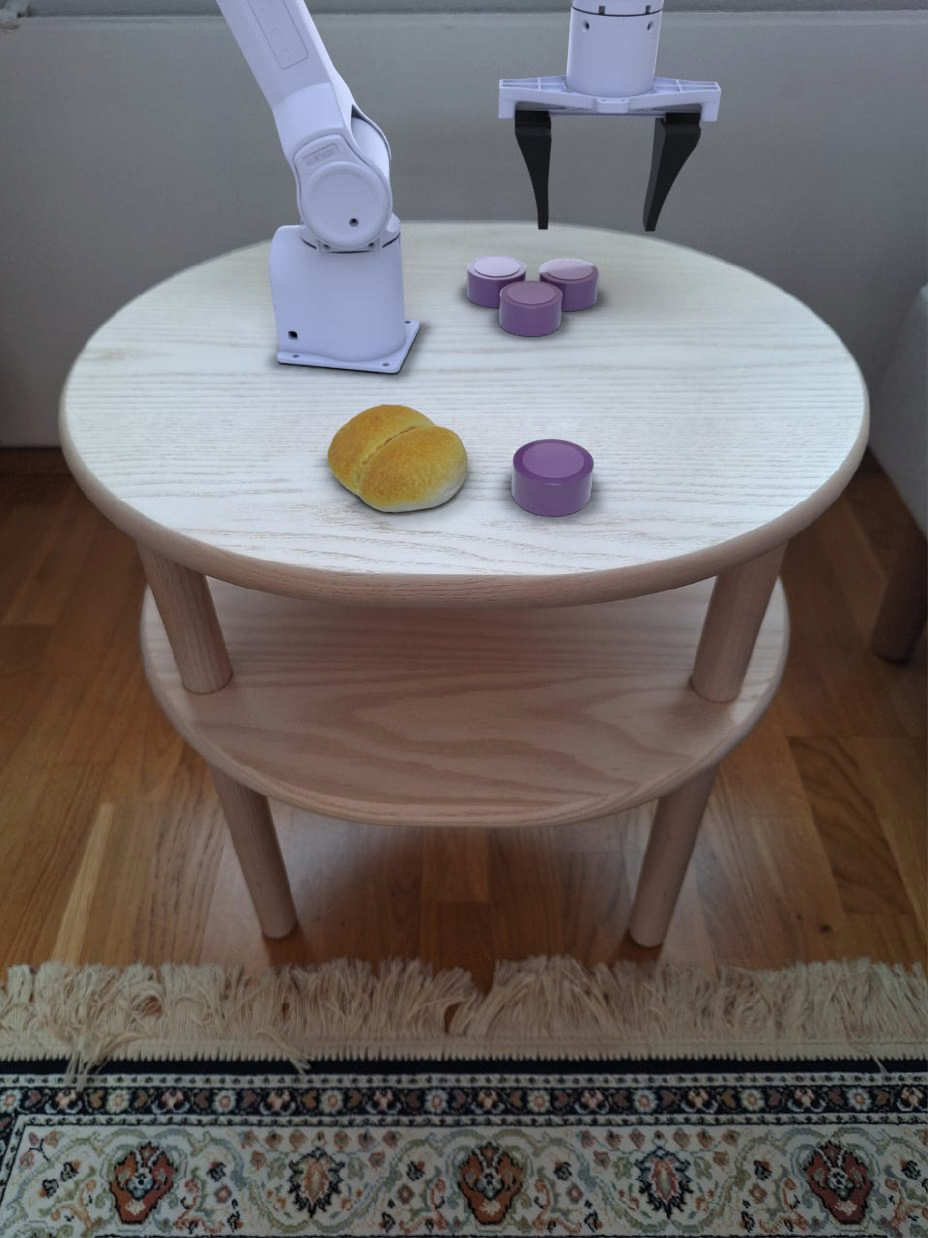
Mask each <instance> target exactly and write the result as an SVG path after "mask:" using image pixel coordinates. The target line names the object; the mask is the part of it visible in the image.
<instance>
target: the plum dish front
mask: <svg viewBox="0 0 928 1238" xmlns="http://www.w3.org/2000/svg"><path fill="white" fill-rule="evenodd" d="M511 465H512V468H511V469H512V470H511V492H510V493H511V496H512V498H513V500H514V502H515V503H516V504H517V505H518V506H519V507H520V508H521V509H523V510H525V511H527V512H529V513H532V514H535V515H539V516H544V517H563V516H568V515H571V514H575V513H577V512H579V511H580V510H582V509H583V508H585V507H586V506H587V505H588V503H589V501H590V500H591V495H592V494H591V493H592V485H593V478H594V477H593V476H594V469H595V468H594V467H595V462H594V457H593V456H592V455H591V453H590V452H589V451H588V450H587V449H586V448H584V447H583V446H581V445H579V443H578V444H577V443H575V442H572V441H568V440H565V439H559V438H544V439H543V438H542V439H536V440H532V441H530V442H527V443H525V444H523V445H521V447H519V448H518V449H517V450H516V451H515V452H514V454H513V456H512V464H511Z"/></svg>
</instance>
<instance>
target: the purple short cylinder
mask: <svg viewBox="0 0 928 1238" xmlns="http://www.w3.org/2000/svg"><path fill="white" fill-rule="evenodd" d="M527 272H528V267H527V265H526V263H525V262H523V261H522V260H520V259H518V258H516V257H512V256H508V255H495V254H494V255H486V256H481V257H477V258H474V259H472V260H470V262H468V264H467V266H466V297H467V298H468V300H469V301H470V302H471V303H473V304H475V305H478V306H481V307H486V308H494V309H497V308H498V309H499V304H500V292H501V290H502V289H503V288H504V287H505V286H507V285H509V284H512V283H515V282H521V281H527V275H528V273H527Z"/></svg>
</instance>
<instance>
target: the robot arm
mask: <svg viewBox="0 0 928 1238" xmlns="http://www.w3.org/2000/svg"><path fill="white" fill-rule="evenodd" d="M664 1H665V0H571V6H570V21H569V23H570V24H569V32H568V33H569V35H568V49H567V50H568V51H567V62H566V63H567V64H566V74H563V75H552V76H541V77H540V76H539V77H531V78H530V77H529V78H513V79H510V78H508V79H507V78H505V79H504V78H503V79H502V78H501V79H499V81H498V82H499V83H498V84H499V85H498V119H499V120H514V135H515V139H516V142H517V144H518V147H519V149H520V152H521V155H522V157H523V160H524V163H525V166H526V168H527V171H528V174H529V178H530V183H531V186H532V190H533V194H534V200H535V204H536V212H537V229H538V231H548V230H549V219H550V208H549V206H550V205H549V181H550V180H549V179H550V167H551V165H550V164H551V153H552V152H551V151H552V140H553V137H552V136H553V135H552V117H553V118H554V117H555V118H557V117H559V118H560V117H562V118H563V117H565V118H576V117H577V118H627V119H628V118H631V119H632V118H637V119H644V118H645V119H654V129H653V141H652V153H651V164H650V171H649V176H648V183H647V187H646V192H645V198H644V202H643V203H644V204H643V210H642V211H643V212H642V213H643V214H642V225H643V228H644V232H647V233H648V232H650V233H651V232H653V233H654V232H655V231H656V229H657V225H658V221H659V219H660V218H659V217H660V215H661V212H662V210H663V207H664V204H665V202H666V200H667V197H668V196H669V192H670V191H671V188H672V187H673V185H674V183H675V181H676V179H677V178H678V175H679V173H680V172H681V171H682V168H683V167H684V165H685V164H686V162H687V161H688V159H689V157H690V156H691V155H692V153H693V152H694V151H695V149H696V148H697V145H698V143H699V141H700V138H701V135H702V127H701V126H700V122H703V123H704V122H706V123H715V122H717V120H718V115H719V110H720V103H721V98H722V89H721V86H720V85H719V83H718V81H699V80H689V79H688V80H687V79H677V78H668V77H658V76H655V72H656V64H657V56H658V55H657V54H658V49H659V48H658V47H659V39H660V31H661V22H662V14H663V9H664ZM215 2H216V4H217V6H218V8H219V10H220V12H221V15H223V17H224V20H225V21H226V23H227V25H228V28H229V29H230V31H231V34H232V36H233V37H234V39H235V41H236V43H237V45H238V47H239V49H240V51H241V53H242V55H243V58H245V61H246V63H247V65H248V66H249V68H250V71H251V72H252V75H253V77H254V78H255V80H256V82H257V84H258V86H259V88H260V90H261V92H262V94H263V97H264V98H265V99H266V102H267V104H268V106H269V107H270V109H271V113H272V115H273V119H274V122H275V127H276V131H277V134H278V138H279V141H280V145H281V149H282V152H283V155H284V157H285V159H286V161H287V164H288V166H289V167H290V169H291V172H292V173H293V177H294V180H295V187H296V207H297V211H298V213H299V216H300V220H299V224H294V225H293V224H292V225H289V224H288V225H281V226H280V227H278V228H277V230H276V231H275V232H274V235H273V238H272V240H271V243H270V247H269V248H270V249H269V256H268V277H269V278H268V279H269V286H270V292H271V293H270V294H271V300H272V307H273V313H274V320H275V327H276V334H277V340H278V341H277V342H278V349H279V351H278V353H277V355H276V359H277V362H279V363H281V364H282V363H283V364H293V365H302V366H303V365H304V366H314V367H322V368H323V367H324V368H333V369H334V368H335V369H336V368H337V369H345V370H354V371H355V370H356V371H366V372H377V373H389V374H395V373H397V372H399V371H400V370H401V367H402V365H403V364H404V361H405V358H406V356H407V355H408V353H409V350H410V348H411V346H412V344H413V342H414V340H415V338H416V336H417V334H418V332H419V330H420V323H421V322H420V321H418V320H416V319H406V318H405V297H404V296H405V295H404V292H405V291H404V273H403V254H402V251H403V250H402V232H401V230H402V229H401V221H400V218H399V217H398V216H397V215H396V214H395V213H394V212H393V209H394V208H393V207H394V198H393V192H392V186H391V181H390V180H391V177H390V175H391V168H392V153H391V148H390V144H389V142H388V139H387V137H386V135H385V134H384V132H383V131H382V129H381V128H380V127H379V126H378V124H377V123H375V122H374V121H373V120H372V119H370V118H369V117H368V116H367V115H366V114H365V113H364V112H363V111H362V110H361V108H359V105H357V102H356V100H355V99H354V96H353V94H352V92H351V90H350V88H349V86H348V84H347V83H346V82H345V80H344V79H343V77H342V75H340V73H339V72H338V71H337V69H336V68H335V66H334V64H333V62H332V59H331V58H330V55H329V53H328V51H327V49H326V47H325V44H324V41H323V40H322V38H321V35H320V34H319V30H318V29H317V27H316V24H315V22H314V20H313V19H312V16H311V14H310V11H309V8H308V7H307V5H306V2H305V1H304V0H215Z"/></svg>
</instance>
